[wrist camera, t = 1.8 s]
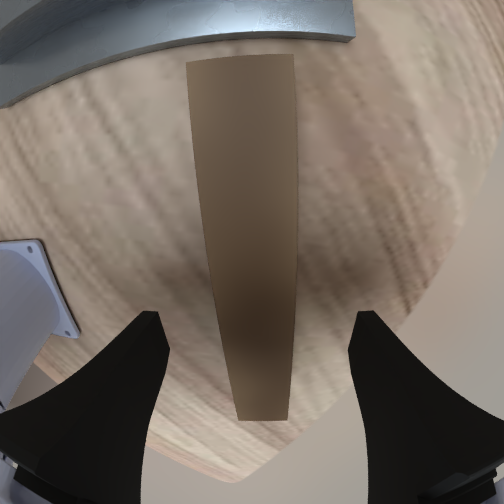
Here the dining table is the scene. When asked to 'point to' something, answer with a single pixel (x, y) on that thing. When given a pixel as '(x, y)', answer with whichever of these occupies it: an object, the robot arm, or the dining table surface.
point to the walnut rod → (250, 218)
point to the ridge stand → (142, 32)
